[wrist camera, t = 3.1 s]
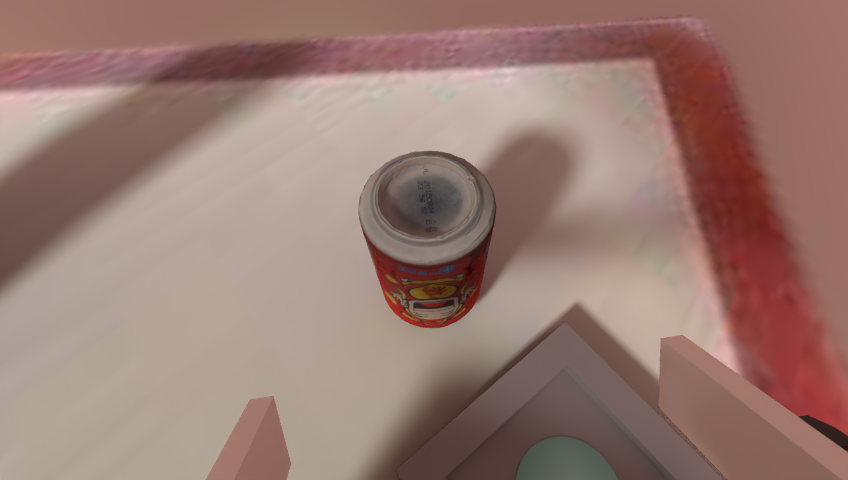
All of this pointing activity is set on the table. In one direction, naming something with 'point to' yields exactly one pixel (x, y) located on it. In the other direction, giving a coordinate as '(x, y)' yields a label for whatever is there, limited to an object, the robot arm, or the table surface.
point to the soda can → (428, 234)
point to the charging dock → (558, 427)
